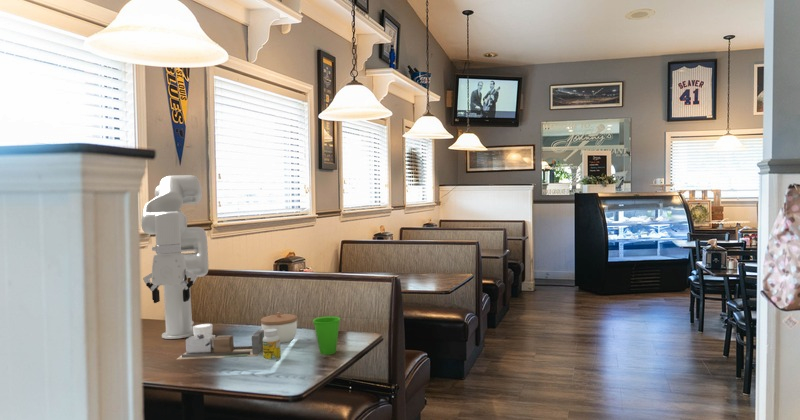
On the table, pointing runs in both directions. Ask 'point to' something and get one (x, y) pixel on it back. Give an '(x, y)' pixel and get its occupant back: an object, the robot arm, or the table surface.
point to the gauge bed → (237, 352)
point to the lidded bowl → (281, 325)
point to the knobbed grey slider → (200, 344)
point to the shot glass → (202, 329)
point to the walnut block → (223, 344)
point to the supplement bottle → (271, 344)
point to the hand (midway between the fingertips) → (171, 301)
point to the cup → (327, 333)
